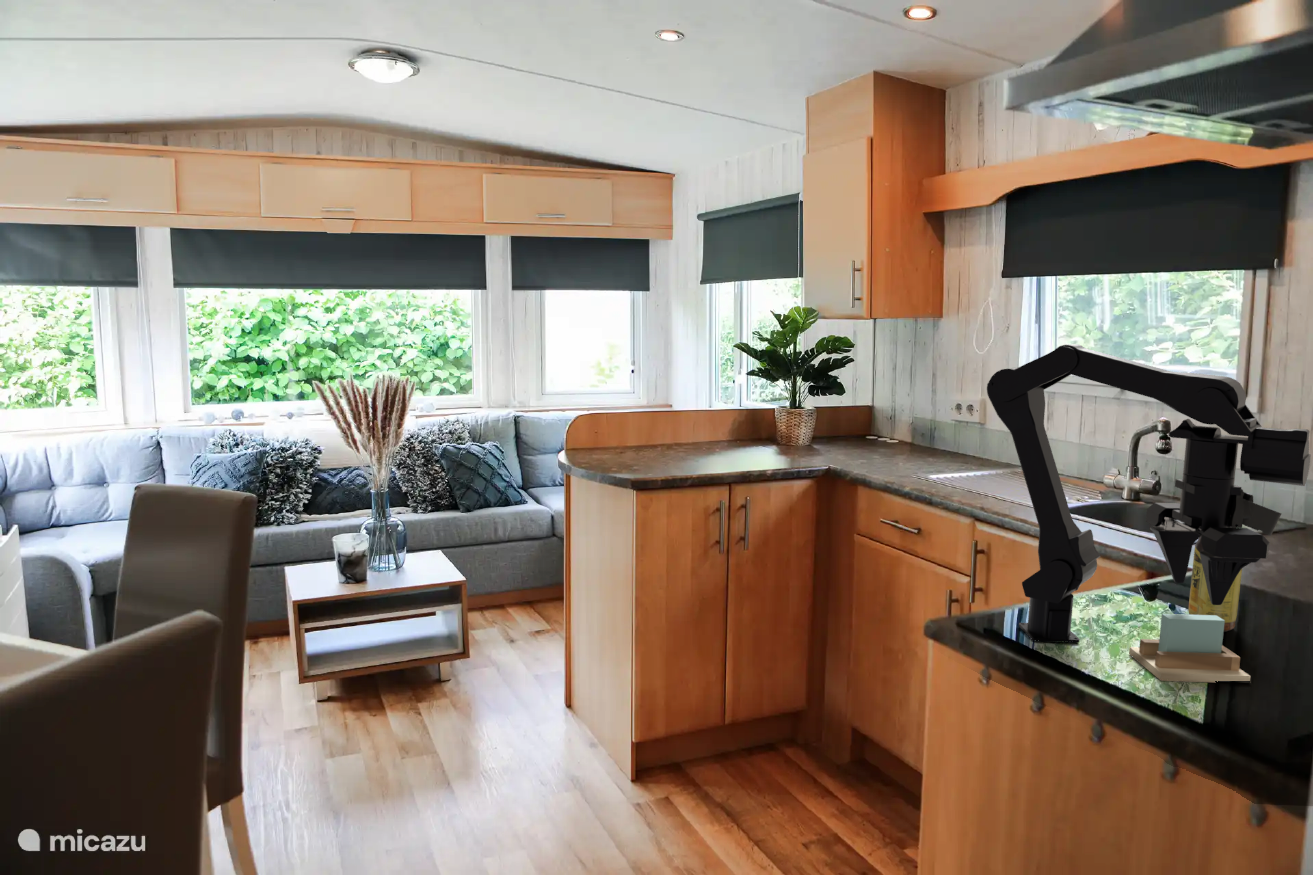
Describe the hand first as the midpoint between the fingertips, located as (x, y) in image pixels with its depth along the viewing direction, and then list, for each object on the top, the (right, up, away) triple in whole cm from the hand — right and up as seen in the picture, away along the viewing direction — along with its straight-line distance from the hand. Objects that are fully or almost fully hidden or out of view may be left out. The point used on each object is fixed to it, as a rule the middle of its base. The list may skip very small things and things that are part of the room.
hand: (1196, 593), depth 122 cm
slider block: (0, -9, +2) cm, 9 cm away
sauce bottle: (+12, -8, +18) cm, 23 cm away
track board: (0, -10, +2) cm, 10 cm away
